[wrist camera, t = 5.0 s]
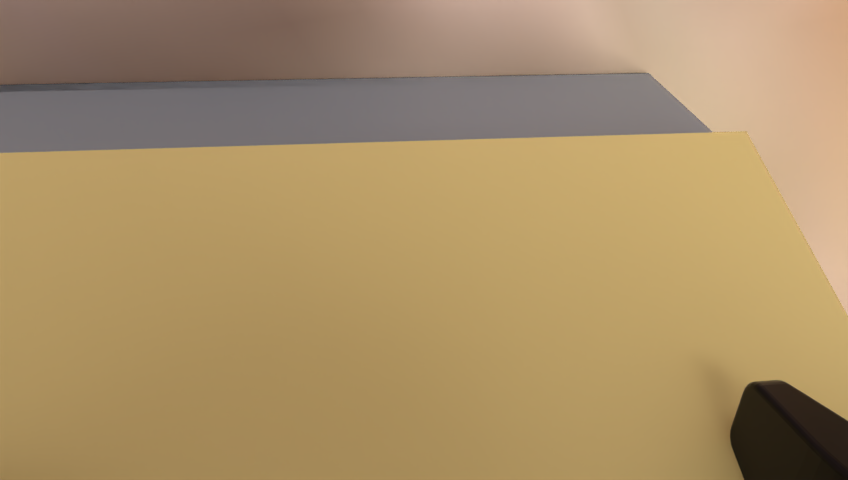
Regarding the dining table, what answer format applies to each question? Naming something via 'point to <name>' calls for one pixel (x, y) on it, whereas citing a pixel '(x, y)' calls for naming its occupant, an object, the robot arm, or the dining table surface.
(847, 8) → the dining table surface
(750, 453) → the robot arm
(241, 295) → the lid
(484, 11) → the dining table surface
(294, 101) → the carton
